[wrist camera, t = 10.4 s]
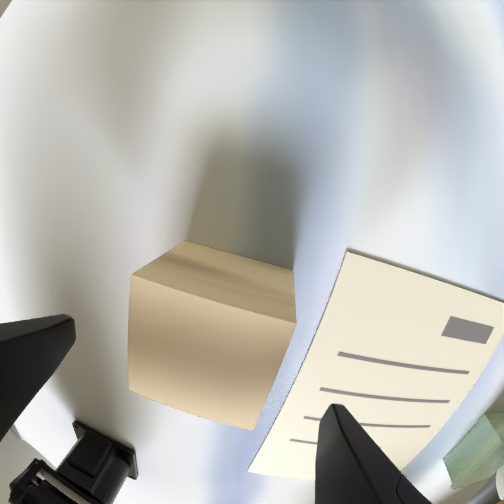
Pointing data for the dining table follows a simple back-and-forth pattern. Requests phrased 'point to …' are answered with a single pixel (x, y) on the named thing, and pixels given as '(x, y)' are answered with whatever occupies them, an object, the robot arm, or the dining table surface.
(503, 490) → the cereal bowl
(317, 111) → the dining table surface
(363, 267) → the letter
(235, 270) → the cube
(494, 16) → the dining table surface
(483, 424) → the translucent green block
